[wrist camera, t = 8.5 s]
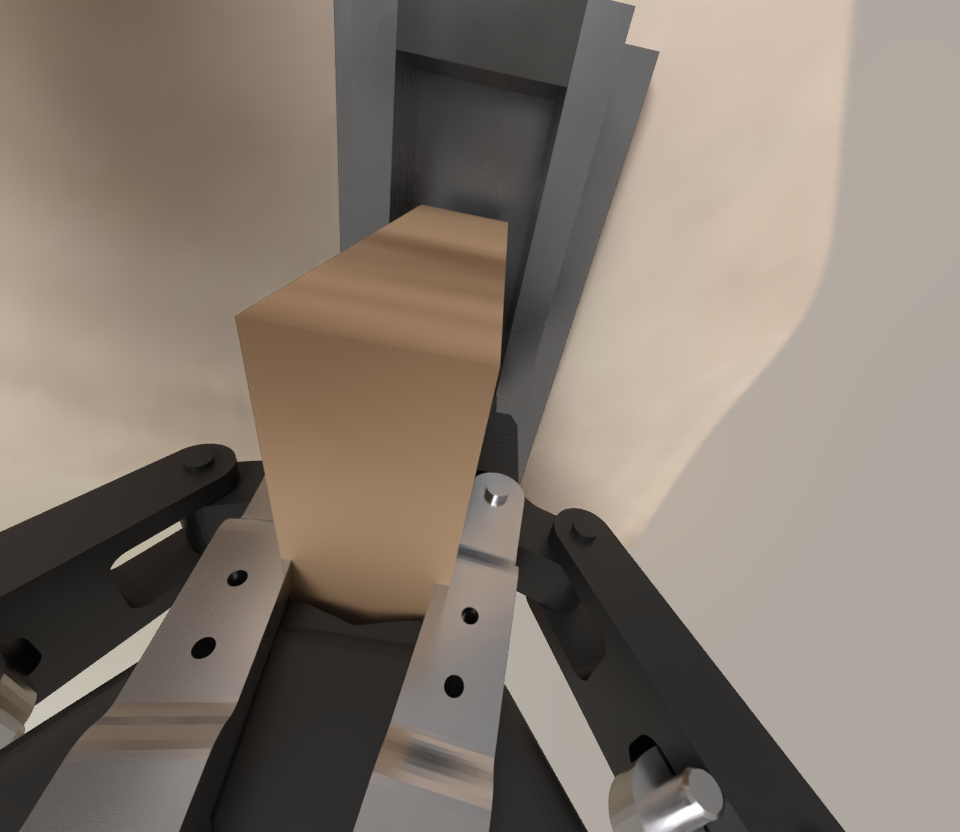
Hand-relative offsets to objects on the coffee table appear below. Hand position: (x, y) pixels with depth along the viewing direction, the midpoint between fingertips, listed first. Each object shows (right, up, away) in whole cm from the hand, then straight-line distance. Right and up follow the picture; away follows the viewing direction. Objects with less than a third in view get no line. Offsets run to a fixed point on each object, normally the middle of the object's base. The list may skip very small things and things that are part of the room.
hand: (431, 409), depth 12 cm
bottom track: (0, +3, +5) cm, 6 cm away
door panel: (0, +1, +2) cm, 2 cm away
